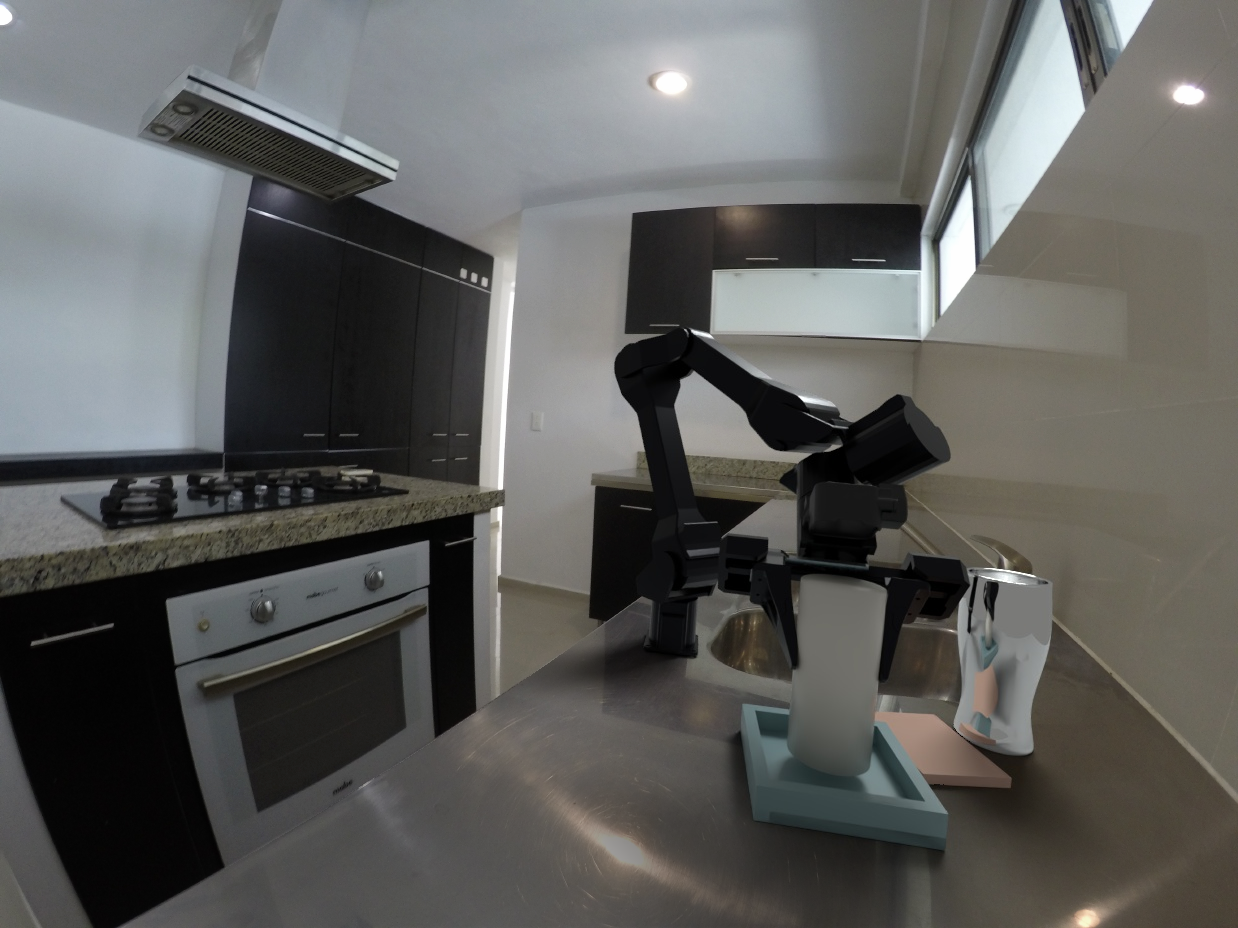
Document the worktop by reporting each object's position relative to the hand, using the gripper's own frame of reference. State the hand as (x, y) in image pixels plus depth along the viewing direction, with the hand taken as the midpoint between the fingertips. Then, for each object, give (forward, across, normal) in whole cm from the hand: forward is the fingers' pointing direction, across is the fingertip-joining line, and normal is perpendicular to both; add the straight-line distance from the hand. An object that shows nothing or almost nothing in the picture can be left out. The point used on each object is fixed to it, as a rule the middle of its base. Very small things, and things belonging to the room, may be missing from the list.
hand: (837, 674), depth 41 cm
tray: (+5, 0, +7) cm, 9 cm away
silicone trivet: (0, +10, +13) cm, 16 cm away
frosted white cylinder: (+4, 0, +6) cm, 7 cm away
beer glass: (-3, +16, +16) cm, 23 cm away
